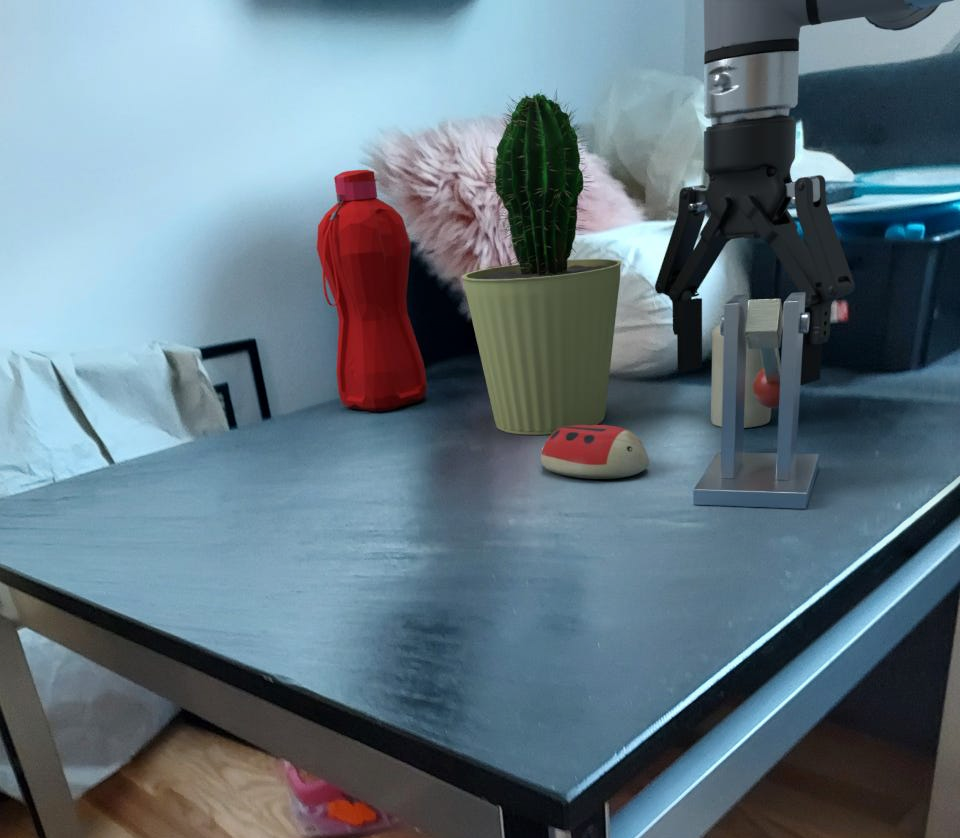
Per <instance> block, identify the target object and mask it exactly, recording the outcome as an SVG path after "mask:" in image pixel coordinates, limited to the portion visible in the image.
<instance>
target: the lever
mask: <svg viewBox="0 0 960 838" xmlns="http://www.w3.org/2000/svg"><path fill="white" fill-rule="evenodd" d="M783 312H784V310H783V304H782V299H781V298H765V299H761V298H760V299H748V309H747V317H746V326H745V334H746V339H747V343H748V347H749V349H760V353H761V357H762V362H763V367H764V368H763V369H762V370H761V371H760V372H759V373H758V374H757V376H756V378H755V380H754V384H753V391H754V395H755V397H756V399H757V400H758V402H759V403H761V404H762V405H763V406H765V407H768V408H771V409H775V410H776V409H779V395H780V374H781V356H780V351H779V349H780V348H781V344H782V333H783Z"/></svg>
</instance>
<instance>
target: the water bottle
mask: <svg viewBox="0 0 960 838" xmlns="http://www.w3.org/2000/svg"><path fill="white" fill-rule="evenodd" d="M375 177H376V176H375V171H373V170H370V169H355V170H345V171H341V172H340V173H338V174H337V175H335V176H334V177H333V178H334V179H333V180H334V188H335V193H336V195H335V196H336V201H337V203H336V204H334V205H333V206H332V207H331V208H330V209H328V211H327V212H326V213H325V214H324V215H323V217H322V218H321V220H320V221H319V223H318V225H317V239H316V251H317V254H318V258H319V262H320V266H321V268H322V286H323V292H324V297H325V300H326V302H327V304H328V305H329V306H332V307H336V313H337V318H338V332H337V333H338V334H337V352H336V353H337V354H336V371H335V372H336V382H337V392H338V396H339V399H340V401H341V404H342V405H343V406H345V407H346V408H348V409H353V410H362V411H363V410H364V411H368V412H369V411H370V412H375V413H376V412H387V411H388V412H389V411H392V410H395V409H399V408H401V407H404V406H408V405H411V404H415V403H418V402H420V401H422V399H424V398H425V396H426V393H427V387H428V382H427V376H426V370H425V369H426V368H425V363H424V360H423V357H422V353H421V351H420V348H419V344H418V341H417V339H416V335H415V333H414V329H413V326H412V323H411V320H410V317H409V314H408V303H407V302H408V301H407V292H408V283H409V281H408V280H409V270H410V261H411V260H410V259H411V248H412V244H411V241H410V238H409V234H408V231H407V228H406V225H405V221H404V218H403V216H402V215H401V214H400V213H399V212H398V211H397V210H396V209H395V208H394V207H393V206H392V205H389V204H388V203H386V202H384V201H383V200H381V199H379V198H378V191H377V183H376V182H377V181H378V180H377V179H376V178H375ZM326 281H327V282H326ZM327 284H328V286H329V289H330V292H331V294H332V298H333V300H334V304H333V303H331V300H330V298H329V296H328V291H327Z"/></svg>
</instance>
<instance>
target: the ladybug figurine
mask: <svg viewBox="0 0 960 838" xmlns="http://www.w3.org/2000/svg"><path fill="white" fill-rule="evenodd" d="M540 450H541V451H540V452H541V453H540V464H541V465H542V467H543V468H545V469H546V470H547V471H550V472H552V473H554V474H558V475H560V476H561V475H562V476H566V477H572V478H579V479H587V480H588V479H589V480H591V479H592V480H612V479H613V480H614V479H623V478H628V477H631V476H635V475H638V474H640V473H642V472H643V471H644V470H646V469H647V468H648V467H649V464H650V459H649V455H648V451H647V450H646V448H645V446H644V445H643V442H642V441H641V439H639V437H637V436H636V435H635V434H634V433H632V432H631V431H630V430H628V429H626V428H623V427H619V426H612V425H606V424H605V425H604V424H597V425H595V424H593V425H573V426H566V427H562V428H559V429H557V430H556V431H555V432H554V433H552V434H550V435H549V437H548V438H547V440H546V441H545V443H544V445H543V446H542V448H541V449H540Z"/></svg>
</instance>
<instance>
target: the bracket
mask: <svg viewBox="0 0 960 838" xmlns="http://www.w3.org/2000/svg"><path fill="white" fill-rule="evenodd" d="M748 301H749V294H734V295H733V296H732V297H731V298H730V299H729V300H727V301H726V302H725V303H724V306H723V315H722V316H721V318H720V322H721V323H720V322H719V323H720V333H721V335H722V336H724V343H723V389H722V427H721V440H720V451H717V452H716V453H715V455H714V457H713V458H712V460H711V461H710V463H709V465H708V466H707V468H706V469H705V471H704V473H702V475H701V477H700V479H699V480H698V481H697V483H696V485H695V486H694V488H693V491H692V492H693V493H692V495H693V496H692V497H693V498H692V504H693V505H694V506H695V505H696V506H717V507H719V506H720V507H741V508H742V507H745V508H766V509H767V508H770V509H771V508H772V509H792V510H793V509H795V510H796V509H797V510H798V509H799V510H806V509H807V506H808V503H809V500H810V496H811V494H812V490H813V488H814V483H815V480H816V477H817V474H818V471H819V465H820V454H819V453H797V449H798V448H797V447H798V428H799V413H800V395H801V385H800V380H801V362H802V345H803V333H808V330H809V313H808V312H807V313H804V310H805V292H799V291H797V292H791V293H790V294H789V295H788V296H787V298H786V299H785V301H784V302H783V325H782V334H781V356H780V363H781V374H780V395H779V408H778V416H777V417H778V419H777V437H776V438H777V439H776V452H744V436H745V428H744V408H745V377H746V346H747V339H746V334H745V326H746V317H747V309H748Z"/></svg>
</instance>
